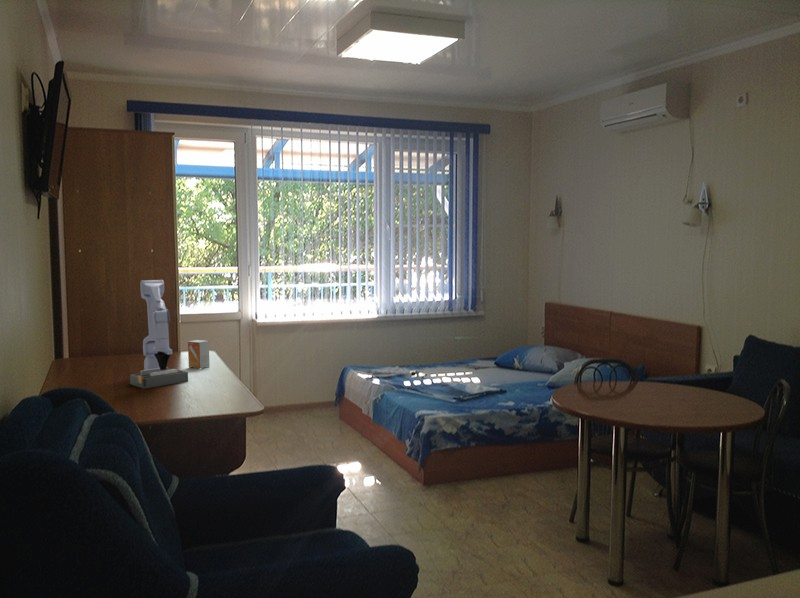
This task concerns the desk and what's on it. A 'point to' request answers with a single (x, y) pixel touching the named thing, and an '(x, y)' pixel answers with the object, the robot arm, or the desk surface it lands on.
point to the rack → (157, 378)
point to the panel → (163, 373)
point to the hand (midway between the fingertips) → (163, 369)
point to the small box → (198, 353)
